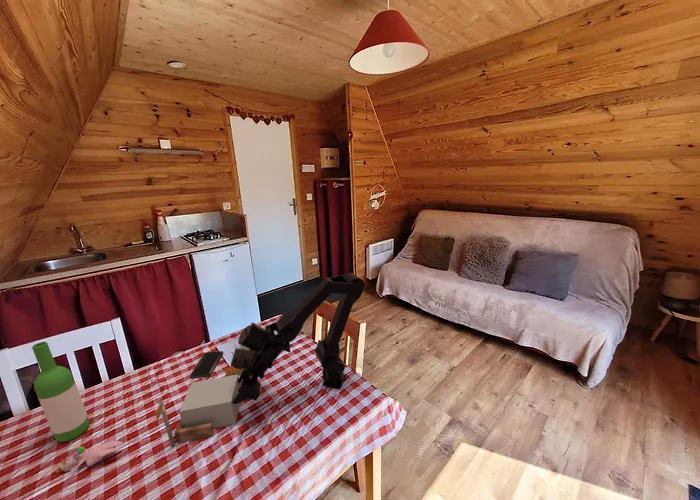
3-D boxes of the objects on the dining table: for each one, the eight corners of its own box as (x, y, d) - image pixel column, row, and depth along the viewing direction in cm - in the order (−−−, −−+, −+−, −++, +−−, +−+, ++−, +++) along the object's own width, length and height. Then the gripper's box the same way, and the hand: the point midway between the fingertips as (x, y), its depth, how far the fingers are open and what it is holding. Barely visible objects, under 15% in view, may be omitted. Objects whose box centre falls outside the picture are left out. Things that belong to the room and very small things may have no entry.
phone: (223, 350, 123) (210, 375, 108) (224, 353, 123) (210, 377, 109) (204, 352, 122) (188, 377, 108) (204, 355, 123) (188, 379, 108)
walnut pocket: (225, 392, 100) (217, 354, 96) (209, 448, 80) (198, 403, 76) (191, 398, 99) (182, 360, 94) (166, 457, 78) (153, 411, 74)
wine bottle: (63, 427, 90) (28, 341, 82) (94, 417, 93) (64, 333, 85) (50, 448, 83) (11, 356, 75) (84, 437, 86) (50, 347, 78)
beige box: (241, 394, 99) (237, 374, 97) (235, 423, 88) (231, 401, 86) (197, 403, 97) (192, 382, 94) (184, 433, 85) (179, 411, 83)
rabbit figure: (55, 484, 75) (118, 461, 77) (42, 467, 73) (108, 445, 75) (71, 461, 81) (130, 441, 83) (60, 445, 79) (120, 425, 81)
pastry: (230, 381, 106) (228, 372, 105) (223, 373, 111) (221, 364, 110) (254, 369, 112) (253, 360, 111) (247, 361, 117) (245, 353, 116)
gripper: (248, 326, 97) (219, 361, 98) (239, 361, 79) (204, 403, 80) (276, 342, 100) (248, 376, 101) (274, 379, 83) (240, 420, 84)
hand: (236, 392), depth 92 cm, fingers open, 9 cm apart
